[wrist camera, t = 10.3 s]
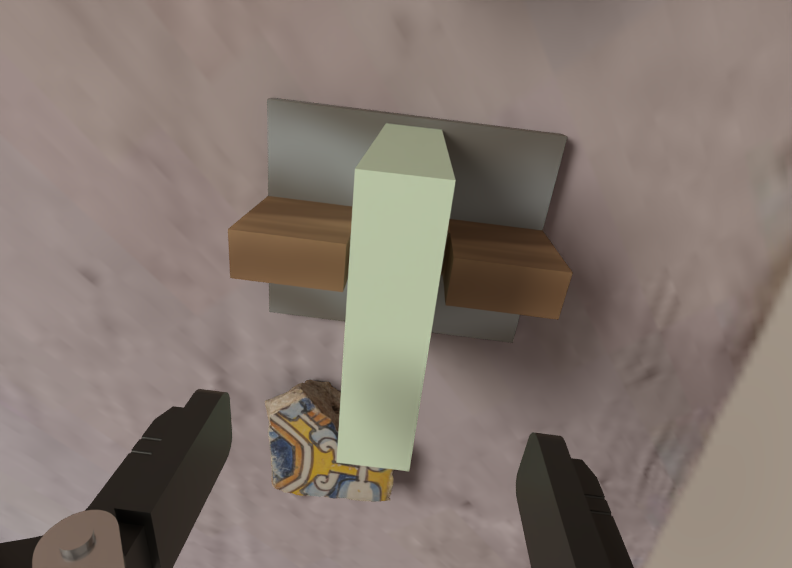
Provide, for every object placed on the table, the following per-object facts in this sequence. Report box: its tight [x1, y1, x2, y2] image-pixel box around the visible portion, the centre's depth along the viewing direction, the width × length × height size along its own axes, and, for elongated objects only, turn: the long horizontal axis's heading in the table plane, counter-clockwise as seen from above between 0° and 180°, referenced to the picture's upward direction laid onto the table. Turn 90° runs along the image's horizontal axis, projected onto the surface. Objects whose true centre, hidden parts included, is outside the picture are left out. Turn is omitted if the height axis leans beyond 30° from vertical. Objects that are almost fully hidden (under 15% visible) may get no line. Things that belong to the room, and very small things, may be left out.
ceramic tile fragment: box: [265, 380, 394, 502], centre depth 34 cm, size 12×3×10 cm
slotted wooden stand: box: [228, 98, 573, 343], centre depth 25 cm, size 13×16×7 cm
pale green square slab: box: [337, 123, 456, 471], centre depth 21 cm, size 12×3×12 cm, turn 174°
